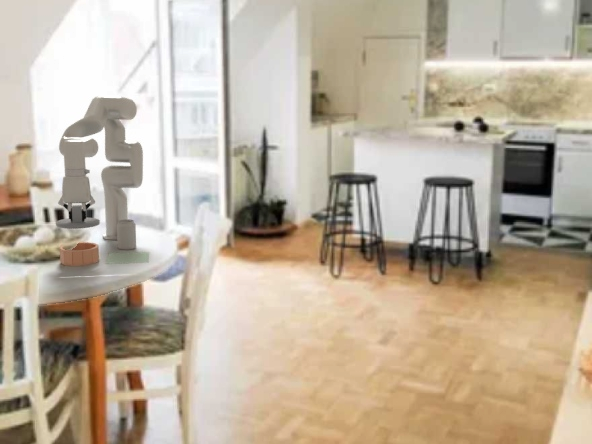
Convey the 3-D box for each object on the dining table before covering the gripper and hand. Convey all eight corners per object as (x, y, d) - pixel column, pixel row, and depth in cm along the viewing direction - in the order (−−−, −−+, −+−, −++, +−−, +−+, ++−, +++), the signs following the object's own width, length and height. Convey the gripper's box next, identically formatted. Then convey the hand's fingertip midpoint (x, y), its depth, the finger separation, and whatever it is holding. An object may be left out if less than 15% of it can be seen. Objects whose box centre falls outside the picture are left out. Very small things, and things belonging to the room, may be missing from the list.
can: (131, 251, 297) (130, 222, 294) (114, 250, 298) (113, 221, 296) (139, 247, 304) (138, 219, 302) (122, 246, 306) (121, 218, 303)
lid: (58, 220, 284) (57, 202, 282) (101, 219, 287) (100, 201, 285) (53, 229, 268) (52, 210, 267) (98, 228, 271) (97, 209, 270)
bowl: (63, 257, 286) (62, 242, 285) (100, 256, 289) (99, 241, 288) (58, 267, 273) (57, 251, 272) (97, 265, 275) (96, 250, 274)
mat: (108, 254, 292) (108, 253, 292) (149, 252, 295) (149, 251, 295) (105, 264, 277) (105, 263, 277) (148, 263, 280) (148, 262, 280)
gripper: (98, 171, 279) (101, 218, 283) (53, 171, 276) (56, 219, 280) (97, 174, 272) (99, 222, 275) (50, 174, 269) (53, 223, 272)
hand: (77, 220), depth 277 cm, fingers closed on lid, 3 cm apart
